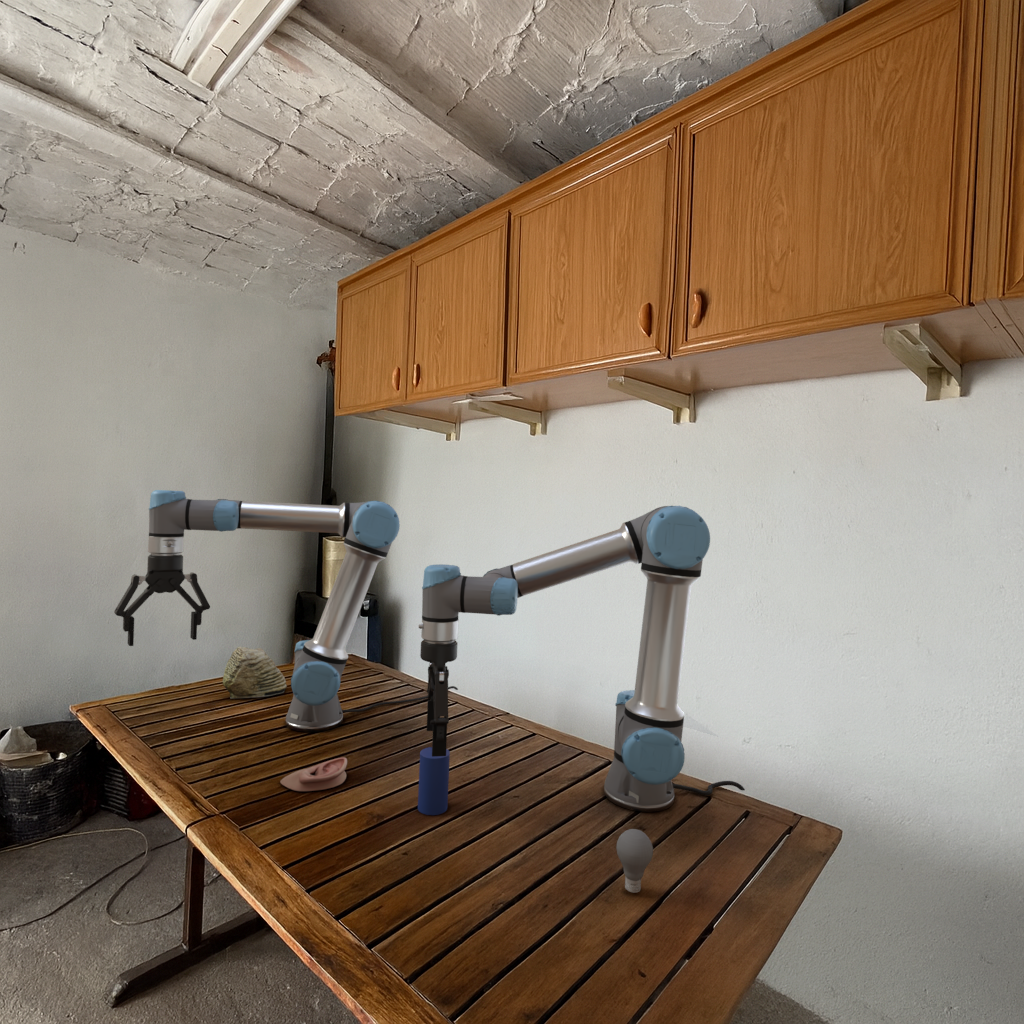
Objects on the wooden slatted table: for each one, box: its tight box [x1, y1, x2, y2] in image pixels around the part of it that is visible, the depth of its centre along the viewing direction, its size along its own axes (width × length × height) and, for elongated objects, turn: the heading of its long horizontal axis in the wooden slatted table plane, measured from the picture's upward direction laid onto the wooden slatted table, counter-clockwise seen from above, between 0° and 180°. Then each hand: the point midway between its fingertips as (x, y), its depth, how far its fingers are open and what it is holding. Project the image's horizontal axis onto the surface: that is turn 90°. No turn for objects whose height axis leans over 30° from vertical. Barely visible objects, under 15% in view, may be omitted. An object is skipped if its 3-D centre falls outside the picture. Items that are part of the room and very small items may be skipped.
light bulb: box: [615, 828, 654, 894], centre depth 106 cm, size 6×6×10 cm
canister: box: [417, 746, 451, 816], centre depth 131 cm, size 6×6×12 cm
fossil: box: [222, 646, 288, 699], centre depth 198 cm, size 9×18×15 cm, turn 132°
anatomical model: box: [279, 756, 348, 792], centre depth 141 cm, size 13×4×12 cm
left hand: (162, 641), depth 153 cm, fingers open, 13 cm apart
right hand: (435, 742), depth 131 cm, fingers open, 13 cm apart
